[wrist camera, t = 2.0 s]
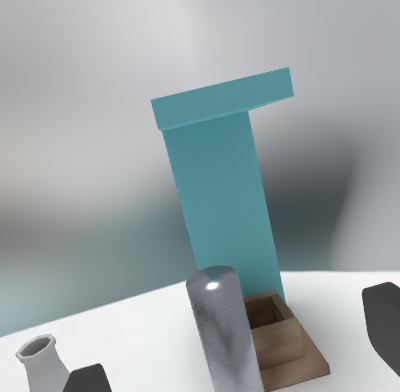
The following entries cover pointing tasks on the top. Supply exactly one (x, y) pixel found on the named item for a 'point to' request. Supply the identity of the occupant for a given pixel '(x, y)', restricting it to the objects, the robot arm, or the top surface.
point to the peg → (224, 329)
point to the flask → (43, 365)
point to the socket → (281, 343)
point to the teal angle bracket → (224, 174)
